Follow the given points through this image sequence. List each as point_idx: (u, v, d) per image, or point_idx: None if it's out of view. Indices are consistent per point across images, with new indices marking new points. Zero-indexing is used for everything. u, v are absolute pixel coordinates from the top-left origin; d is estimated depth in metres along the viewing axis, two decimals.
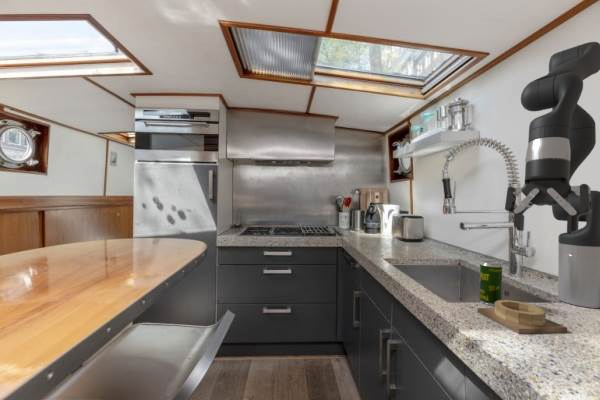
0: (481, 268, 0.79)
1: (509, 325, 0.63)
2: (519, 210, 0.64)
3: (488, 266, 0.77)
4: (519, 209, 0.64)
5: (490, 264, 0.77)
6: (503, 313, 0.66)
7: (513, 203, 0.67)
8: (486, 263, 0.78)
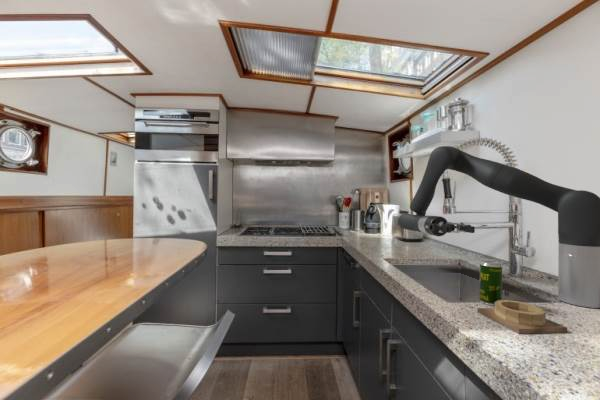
0: (481, 268, 0.79)
1: (509, 325, 0.63)
2: (463, 231, 0.96)
3: (488, 266, 0.77)
4: (463, 231, 0.96)
5: (490, 264, 0.77)
6: (503, 313, 0.66)
7: None
8: (486, 263, 0.78)
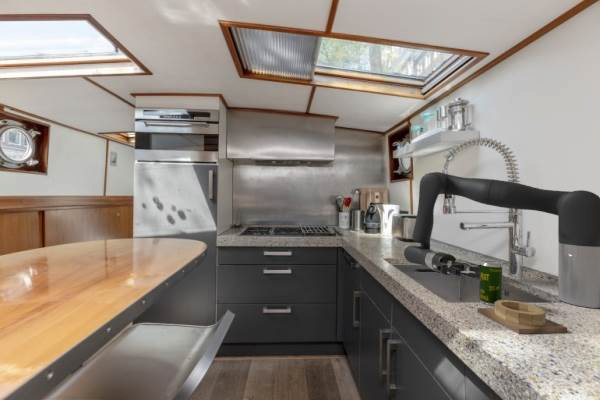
0: (481, 268, 0.79)
1: (509, 325, 0.63)
2: (473, 272, 0.91)
3: (488, 266, 0.77)
4: (473, 272, 0.92)
5: (490, 264, 0.77)
6: (503, 313, 0.66)
7: None
8: (486, 263, 0.78)
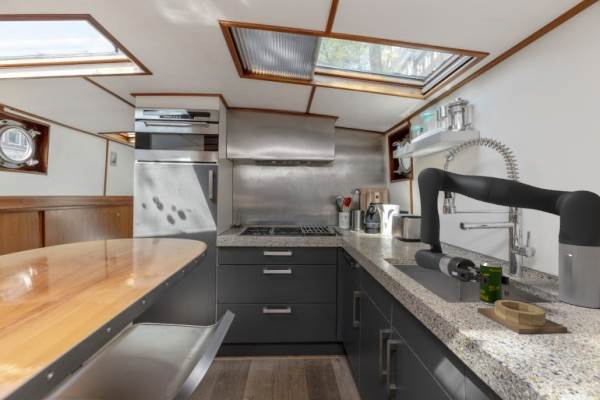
0: (481, 268, 0.79)
1: (509, 325, 0.63)
2: None
3: (488, 266, 0.77)
4: None
5: (490, 264, 0.77)
6: (503, 313, 0.66)
7: None
8: (486, 263, 0.78)
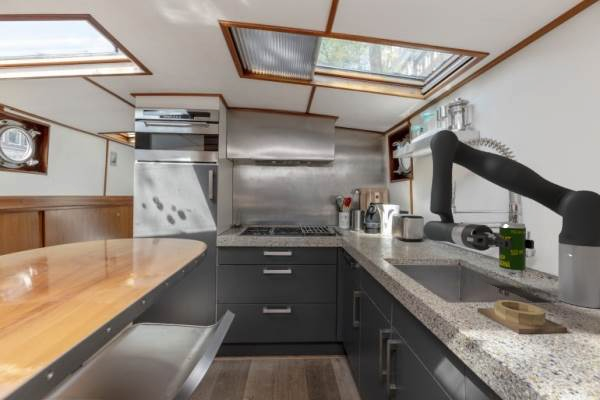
0: (501, 231, 0.70)
1: (509, 325, 0.63)
2: None
3: (510, 227, 0.68)
4: None
5: (512, 225, 0.67)
6: (503, 313, 0.66)
7: None
8: (507, 224, 0.68)
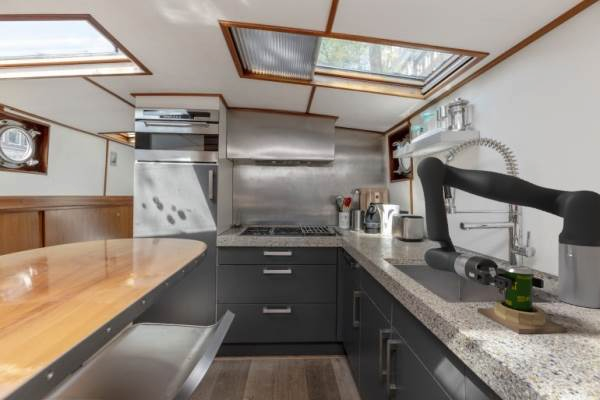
0: (507, 275, 0.67)
1: (509, 325, 0.63)
2: None
3: (516, 272, 0.66)
4: None
5: (518, 270, 0.65)
6: (503, 313, 0.66)
7: None
8: (513, 269, 0.66)
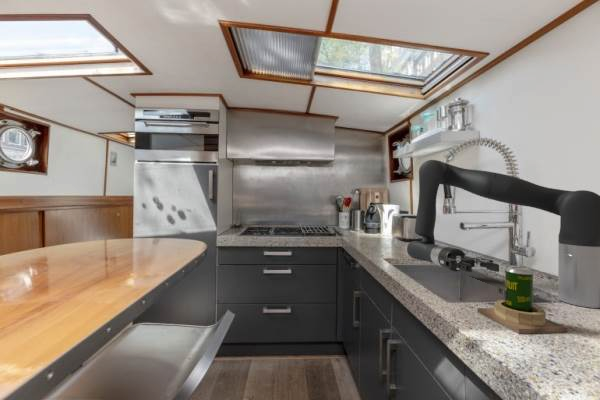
0: (507, 275, 0.67)
1: (509, 325, 0.63)
2: (485, 268, 0.83)
3: (516, 273, 0.65)
4: (484, 268, 0.83)
5: (519, 271, 0.65)
6: (503, 313, 0.66)
7: None
8: (513, 269, 0.66)
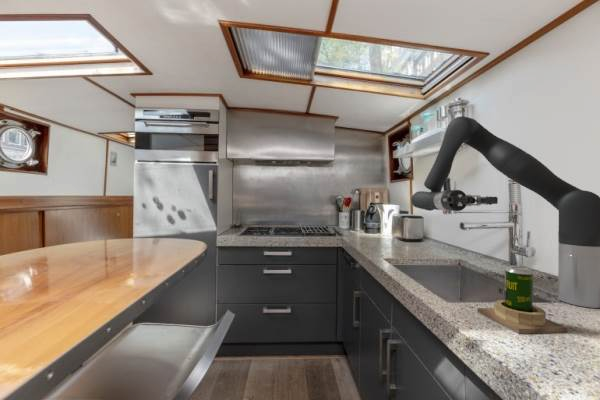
0: (507, 275, 0.67)
1: (509, 325, 0.63)
2: None
3: (516, 273, 0.65)
4: None
5: (519, 271, 0.65)
6: (503, 313, 0.66)
7: (485, 198, 0.92)
8: (513, 269, 0.66)
